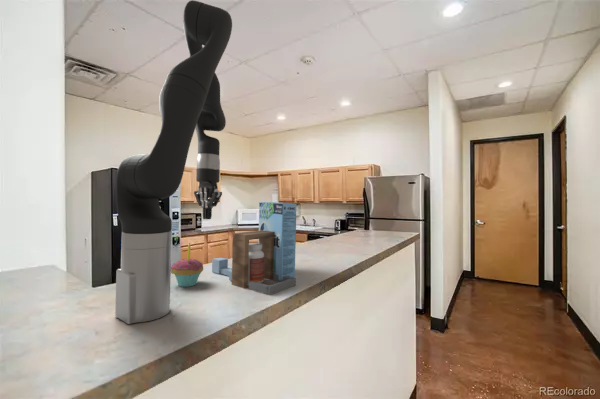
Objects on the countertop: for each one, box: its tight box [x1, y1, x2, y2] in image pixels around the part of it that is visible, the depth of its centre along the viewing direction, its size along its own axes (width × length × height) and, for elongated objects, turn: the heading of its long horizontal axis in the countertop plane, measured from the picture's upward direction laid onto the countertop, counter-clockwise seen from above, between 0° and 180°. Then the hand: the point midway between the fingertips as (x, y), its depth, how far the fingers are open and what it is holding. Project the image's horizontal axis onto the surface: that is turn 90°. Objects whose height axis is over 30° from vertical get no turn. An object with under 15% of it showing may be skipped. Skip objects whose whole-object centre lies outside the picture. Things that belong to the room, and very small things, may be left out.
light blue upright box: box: [257, 201, 297, 281], centre depth 94 cm, size 20×5×23 cm, turn 29°
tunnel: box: [231, 230, 274, 289], centre depth 85 cm, size 5×12×14 cm, turn 143°
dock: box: [248, 274, 297, 296], centre depth 81 cm, size 11×8×2 cm
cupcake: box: [171, 242, 204, 288], centre depth 81 cm, size 9×8×12 cm
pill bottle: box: [248, 242, 265, 285], centre depth 85 cm, size 6×6×11 cm
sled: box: [211, 257, 232, 282], centre depth 92 cm, size 13×8×4 cm, turn 53°
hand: (207, 218), depth 99 cm, fingers closed
